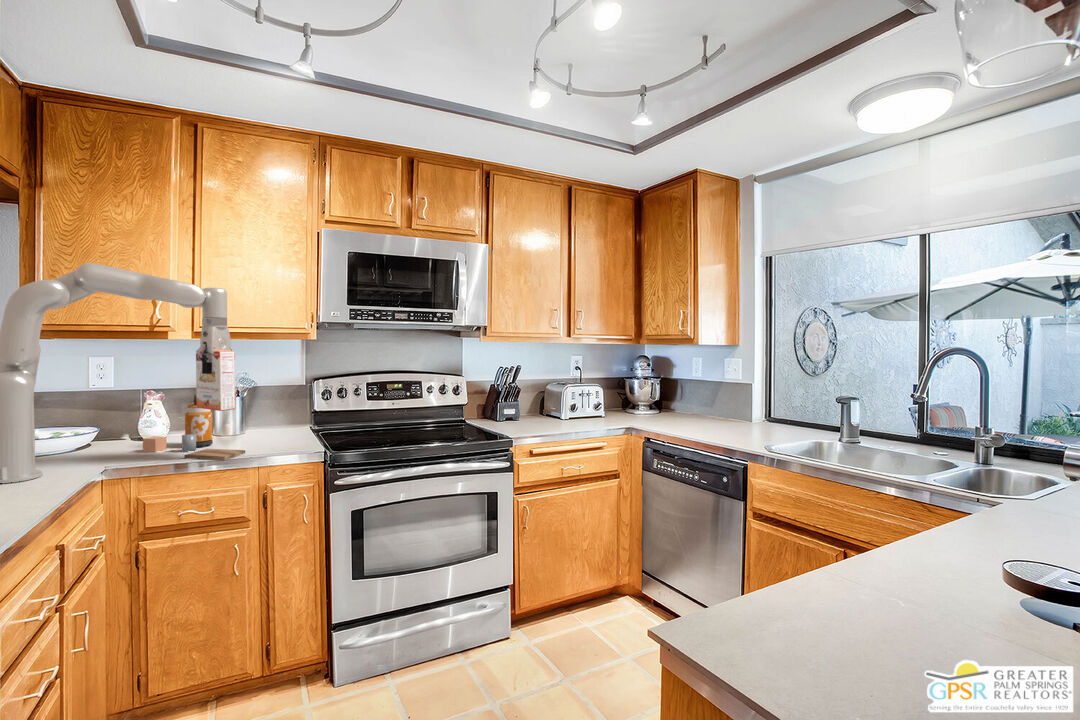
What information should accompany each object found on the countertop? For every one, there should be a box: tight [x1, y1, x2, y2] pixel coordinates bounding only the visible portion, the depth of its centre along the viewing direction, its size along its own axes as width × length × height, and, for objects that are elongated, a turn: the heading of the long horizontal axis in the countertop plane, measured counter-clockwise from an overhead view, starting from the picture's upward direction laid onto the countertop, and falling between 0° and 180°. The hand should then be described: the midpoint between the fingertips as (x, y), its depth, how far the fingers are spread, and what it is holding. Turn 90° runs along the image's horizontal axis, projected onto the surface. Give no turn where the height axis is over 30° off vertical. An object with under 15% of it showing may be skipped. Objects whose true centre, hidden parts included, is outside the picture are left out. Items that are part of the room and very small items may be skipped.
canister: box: [184, 394, 214, 448], centre depth 210 cm, size 9×11×20 cm
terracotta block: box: [142, 435, 167, 453], centre depth 199 cm, size 5×5×5 cm
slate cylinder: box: [181, 433, 197, 453], centre depth 200 cm, size 4×4×6 cm
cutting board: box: [183, 448, 246, 461], centre depth 193 cm, size 11×15×1 cm
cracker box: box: [195, 349, 236, 412], centre depth 192 cm, size 14×6×21 cm, turn 62°
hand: (215, 372), depth 192 cm, fingers closed on cracker box, 7 cm apart
